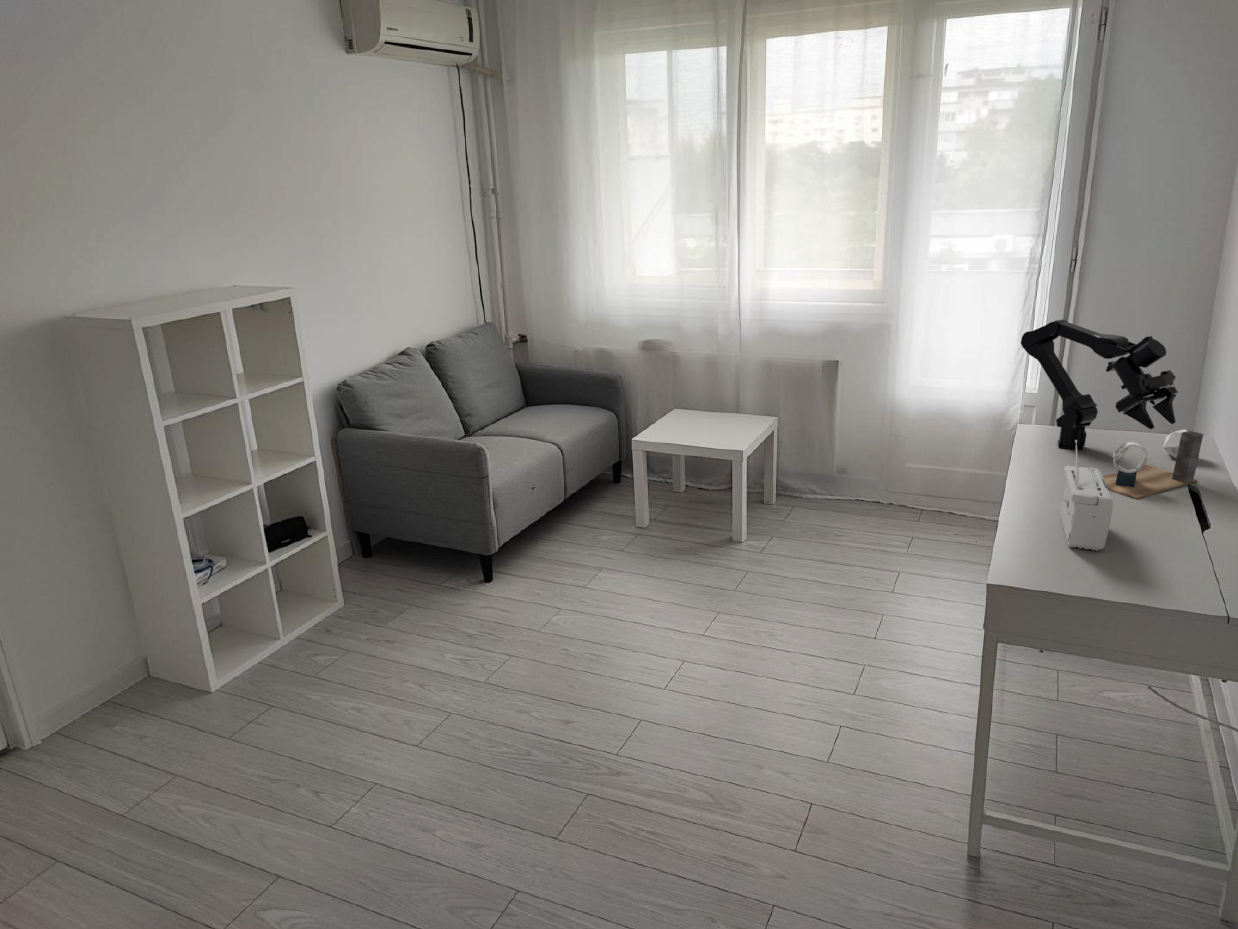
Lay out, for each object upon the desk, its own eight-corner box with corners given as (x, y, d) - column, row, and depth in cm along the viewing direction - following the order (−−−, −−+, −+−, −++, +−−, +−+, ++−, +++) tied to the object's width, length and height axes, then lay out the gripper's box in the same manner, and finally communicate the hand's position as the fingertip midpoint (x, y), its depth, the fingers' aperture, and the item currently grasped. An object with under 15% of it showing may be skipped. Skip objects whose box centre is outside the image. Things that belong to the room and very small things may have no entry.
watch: (1108, 476, 240) (1115, 438, 236) (1142, 482, 236) (1150, 442, 232) (1107, 483, 235) (1114, 444, 232) (1141, 488, 231) (1149, 448, 228)
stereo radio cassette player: (1105, 554, 197) (1121, 469, 190) (1064, 549, 200) (1078, 465, 193) (1093, 518, 215) (1107, 440, 208) (1055, 514, 218) (1068, 437, 211)
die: (1157, 460, 255) (1183, 440, 247) (1154, 438, 260) (1178, 418, 253) (1183, 470, 255) (1209, 450, 248) (1179, 448, 261) (1204, 428, 253)
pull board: (1086, 482, 238) (1095, 433, 233) (1146, 466, 249) (1155, 420, 244) (1136, 499, 226) (1146, 448, 222) (1196, 482, 237) (1207, 433, 232)
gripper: (1134, 365, 234) (1166, 416, 229) (1178, 356, 242) (1210, 406, 237) (1101, 387, 243) (1132, 436, 238) (1144, 378, 251) (1174, 426, 246)
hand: (1163, 425), depth 240 cm, fingers open, 9 cm apart
